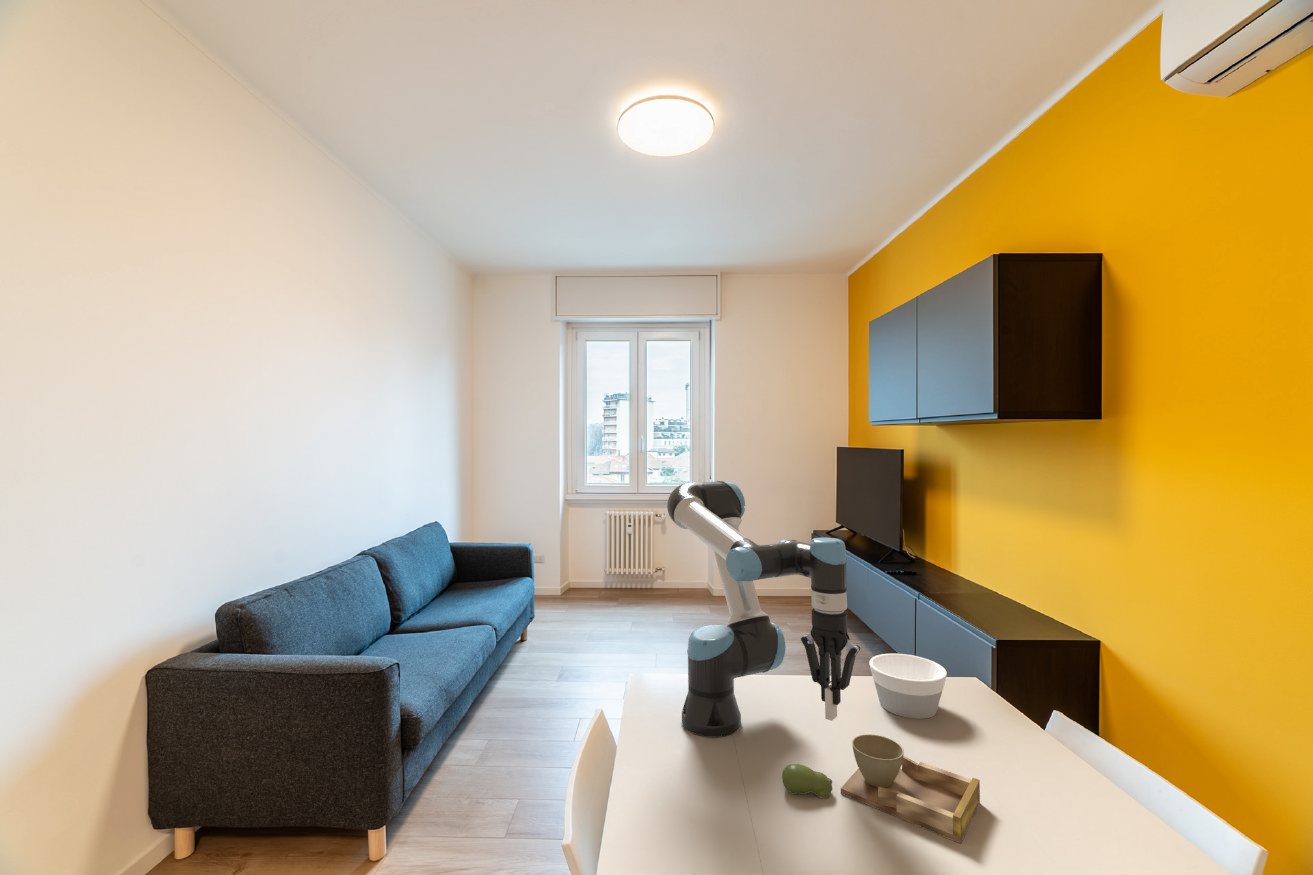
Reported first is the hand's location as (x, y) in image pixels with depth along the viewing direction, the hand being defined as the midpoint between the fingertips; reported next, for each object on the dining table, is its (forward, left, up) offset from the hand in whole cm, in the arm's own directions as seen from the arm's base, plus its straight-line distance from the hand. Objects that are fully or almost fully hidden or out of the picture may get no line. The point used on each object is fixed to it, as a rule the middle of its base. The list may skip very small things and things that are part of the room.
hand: (831, 717), depth 123 cm
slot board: (+16, 0, -11) cm, 20 cm away
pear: (0, -11, -11) cm, 16 cm away
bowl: (+3, +41, -11) cm, 43 cm away
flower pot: (+10, 0, -10) cm, 14 cm away
